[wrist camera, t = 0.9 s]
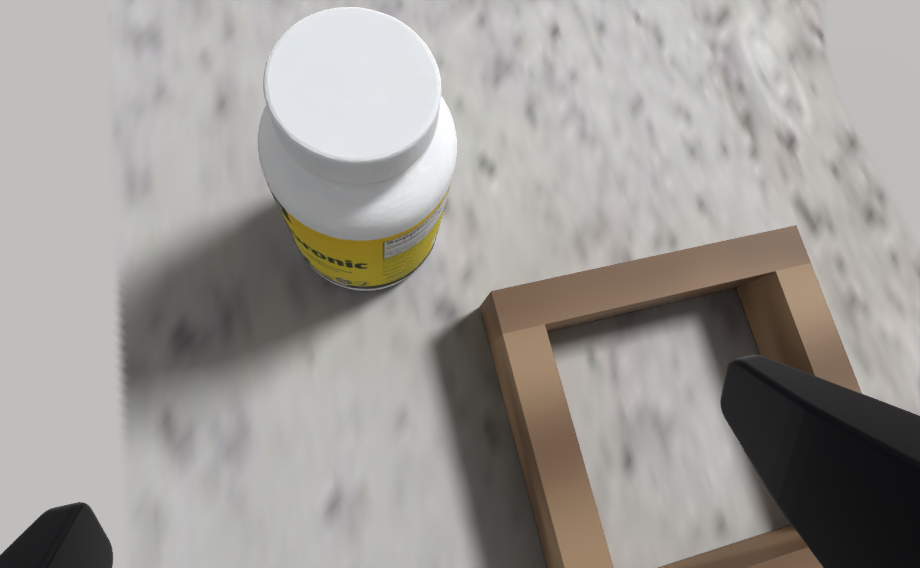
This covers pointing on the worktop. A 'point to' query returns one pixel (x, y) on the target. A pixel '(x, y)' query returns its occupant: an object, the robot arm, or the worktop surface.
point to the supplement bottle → (357, 145)
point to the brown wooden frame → (627, 290)
